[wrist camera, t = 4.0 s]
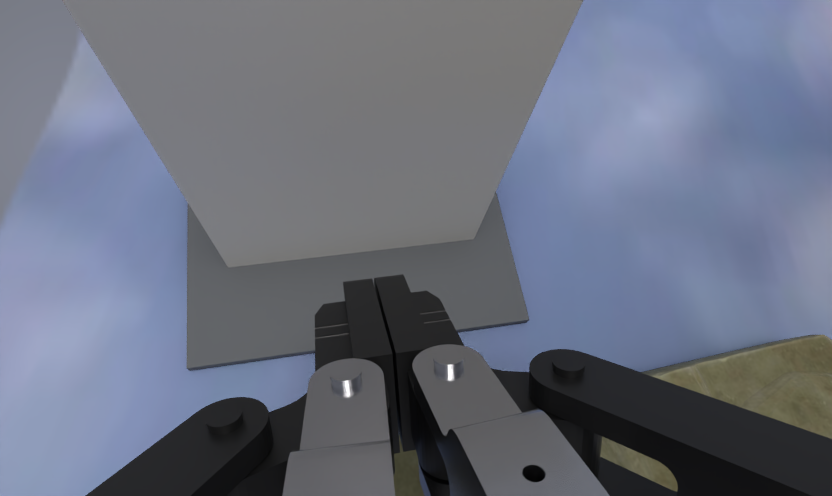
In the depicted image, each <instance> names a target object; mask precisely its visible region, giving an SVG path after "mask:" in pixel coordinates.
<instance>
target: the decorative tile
mask: <svg viewBox="0 0 832 496" xmlns="http://www.w3.org/2000/svg"><path fill="white" fill-rule="evenodd" d="M640 373H643V374H646V375H649V376H652V377H655V378H658V379H661V380H664V381H666V382H669V383H672V384H675V385H678V386H681V387H684V388H687V389H689V390H692V391H695V392H698V393H701V394H704V395H707V396H710V397H712V398H715V399H718V400H721V401H724V402H727V403H730V404H733V405H736V406H738V407H741V408H744V409H747V410H750V411H753V412H756V413H759V414H761V415H764V416H767V417H770V418H773V419H776V420H779V421H782V422H784V423H787V424H790V425H793V426H796V427H799V428H802V429H805V430H808V431H810V432H813V433H816V434H819V435H822V436H825V437H828V438H831V439H832V340H831V339H830V338H828V337H827V336H825V335H808V336H801V337H795V338H790V339H784V340H779V341H775V342H770V343H766V344H761V345H757V346H752V347H748V348H744V349H739V350H735V351H730V352H726V353H721V354H717V355H713V356H709V357H704V358H700V359H696V360H692V361H688V362H683V363H679V364H674V365H670V366H666V367H662V368H657V369H653V370H649V371H645V372H640ZM399 444H400V453H396V454H394V460H395V474H394V477H393V478H394V488H395V496H425V495H424V492H423V490H422V487H421V484H420V480H419V464H418V456H417V452H416V450H412V451H406V452H403V448H402V444H401V439H400V435H399ZM600 457H602V458H605V459H607V460H609V461H611V462H613V463H615V464H617V465H619V466H622V467H624V468H626V469H628V470H630V471H632V472H634V473H637V474H639V475H641V476H643V477H645V478H647V479H649V480H651V481H654V482H656V483H658V484H660V485H662V486H664V487H666V488H669V489H671V490H673V491H677V490H678V485H677V481H676V479H675V477H674V475H673V474H672V472H671V471H670V470H669V469H668V468H667V467H666V466H665V465H663V464H662V463H660V462H658V461H657V460H654V459H652V458H650V457H648V456H645V455H643V454H641V453H639V452H636V451H634V450H632V449H630V448H627V447H625V446H623V445H621V444H618V443H616V442H614V441H611V440H609V439H607V438H605V437H602V445H601V455H600Z"/></svg>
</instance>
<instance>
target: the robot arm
mask: <svg viewBox="0 0 832 496" xmlns="http://www.w3.org/2000/svg"><path fill="white" fill-rule="evenodd" d="M343 288H344V297H345V301H342V302H334V303H327V304H323V305H322V306H321V308H320V309H319V310H318V312H317V313H316V314H315V373H314V374H313V375H312V376H311V378H310V380H309V384H308V391H307V393H306V394H305V395H304V396H303V397H301V398H300V399H298V400H297V401H295V402H293V403H291V404H289V405H287V406H285V407H282V408H280V409H277V410H274V411H272V412H269V413H268V410H267V407H266V406H265V405H264V404H263V403H262V402H260V401H258V400H256V399H252V398H246V397H236V398H229V399H224V400H221V401H218V402H215V403H212V404H210V405H208V406H206V407H204V408H202V409H201V410H199V411H198V412H196V413H195V414H194V415H192V416H191V417H190V418H188V419H187V420H186V421H184V422H183V423H182V424H180V425H179V426H178V427H176V428H175V429H174V430H172V431H171V432H170V433H168V434H167V435H166V436H164V437H163V438H162V439H160V440H159V441H158V442H156V443H155V444H154V445H152V446H151V447H150V448H148V449H147V450H146V451H145V452H143V453H142V454H141V455H139V456H138V457H137V458H135V459H134V460H133V461H131V462H130V463H129V464H127V465H126V466H125V467H123V468H122V469H121V470H119V471H118V472H117V473H115V474H114V475H113V476H111V477H110V478H109V479H107V480H106V481H105V482H103V483H102V484H101V485H99V486H98V487H97V488H95V489H94V490H93V491H91V492H90V493H89V494H87V495H86V496H395V488H394V478H393V477H394V474H395V460H394V454H396V453H400V444H399V435H400V439H401V444H402V448H403V452H406V451H412V450H416V452H417V456H418V464H419V480H420V484H421V487H422V490H423V492H424V495H425V496H832V439H831V438H828V437H825V436H822V435H819V434H816V433H813V432H810V431H808V430H805V429H802V428H799V427H796V426H793V425H790V424H787V423H784V422H782V421H779V420H776V419H773V418H770V417H767V416H764V415H761V414H759V413H756V412H753V411H750V410H747V409H744V408H741V407H738V406H736V405H733V404H730V403H727V402H724V401H721V400H718V399H715V398H712V397H710V396H707V395H704V394H701V393H698V392H695V391H692V390H689V389H687V388H684V387H681V386H678V385H675V384H672V383H669V382H666V381H664V380H661V379H658V378H655V377H652V376H649V375H646V374H643V373H640V372H638V371H635V370H632V369H629V368H626V367H623V366H620V365H617V364H615V363H612V362H609V361H606V360H603V359H600V358H597V357H594V356H592V355H589V354H586V353H583V352H579V351H574V350H567V349H556V350H549V351H545V352H542V353H540V354H538V355H537V356H535V357H534V358H533V359H532V361H531V363H530V368H529V372H511V371H501V370H495V369H492V368H490V367H489V365H488V364H487V362H486V361H485V360H484V358H483V357H482V356H481V355H480V354H479V353H478V352H477V351H475V350H473V349H471V348H469V347H465V346H464V345H463V343H462V341H461V339H460V337H459V335H458V333H457V331H456V329H455V327H454V325H453V323H452V321H451V320H450V318H449V316H448V314H447V312H446V311H445V308H444V306H443V304H442V302H441V300H440V299H439V298H438V297H436V296H435V295H433V294H431V293H430V292H428V291H427V290H426V291H419V292H411V291H410V289H409V287H408V284H407V282H406V279H405V277H404V275H403V274H401V275H393V276H385V277H377V278H374V283H373V280H372V278H369V279H361V280H353V281H345V282H343ZM602 437H605V438H607V439H609V440H611V441H614V442H616V443H618V444H621V445H623V446H625V447H627V448H630V449H632V450H634V451H636V452H639V453H641V454H643V455H645V456H648V457H650V458H652V459H654V460H657V461H658V462H660V463H662V464H663V465H665V466H666V467H667V468H668V469H669V470H670V471H671V472H672V474H673V475H674V477H675V479H676V481H677V485H678V490H677V491H673V490H671V489H669V488H666V487H664V486H662V485H660V484H658V483H656V482H654V481H651V480H649V479H647V478H645V477H643V476H641V475H639V474H637V473H634V472H632V471H630V470H628V469H626V468H624V467H622V466H619V465H617V464H615V463H613V462H611V461H609V460H607V459H605V458H602V457H600V455H601V445H602Z"/></svg>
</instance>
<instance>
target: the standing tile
mask: <svg viewBox="0 0 832 496" xmlns="http://www.w3.org/2000/svg"><path fill="white" fill-rule="evenodd" d="M62 1H63V3H64V4H65V6H66V7H67V9H68V11H69V12H70V14H71V15H72V17H73V19H74V20H75V22H76V24H77V25H78V27H79V28H80V30H81V32H82V33H83V35H84V36H85V38H86V40H87V41H88V43H89V45H90V46H91V48H92V49H93V51H94V53H95V54H96V56H97V57H98V59H99V61H100V62H101V64H102V65H103V67H104V69H105V70H106V72H107V73H108V75H109V77H110V78H111V80H112V82H113V83H114V85H115V86H116V88H117V90H118V91H119V93H120V94H121V96H122V98H123V99H124V101H125V102H126V104H127V106H128V107H129V109H130V110H131V112H132V114H133V115H134V117H135V119H136V120H137V122H138V123H139V125H140V127H141V128H142V130H143V131H144V133H145V135H146V136H147V138H148V139H149V141H150V143H151V144H152V146H153V147H154V149H155V151H156V152H157V154H158V156H159V157H160V159H161V160H162V162H163V164H164V165H165V167H166V168H167V170H168V172H169V173H170V175H171V176H172V178H173V180H174V181H175V183H176V184H177V186H178V188H179V189H180V191H181V192H182V194H183V196H184V197H185V199H186V201H187V202H188V204H189V205H190V207H191V209H192V210H193V212H194V213H195V215H196V217H197V218H198V220H199V221H200V223H201V225H202V226H203V228H204V229H205V231H206V233H207V234H208V236H209V238H210V239H211V241H212V242H213V244H214V246H215V247H216V249H217V250H218V252H219V254H220V255H221V257H222V258H223V260H224V262H225V263H226V265H227V266H228V267H237V266H246V265H254V264H263V263H272V262H280V261H289V260H298V259H306V258H315V257H324V256H332V255H341V254H350V253H358V252H367V251H376V250H384V249H393V248H401V247H410V246H419V245H427V244H436V243H445V242H453V241H462V240H471V239H474V238H475V236H476V233H477V231H478V229H479V227H480V225H481V223H482V220H483V218H484V216H485V214H486V212H487V209H488V207H489V205H490V203H491V201H492V199H493V196H494V194H495V192H496V190H497V188H498V185H499V183H500V181H501V179H502V177H503V174H504V172H505V170H506V168H507V166H508V164H509V161H510V159H511V157H512V155H513V153H514V150H515V148H516V146H517V144H518V142H519V140H520V137H521V135H522V133H523V131H524V129H525V126H526V124H527V122H528V120H529V118H530V116H531V113H532V111H533V109H534V107H535V105H536V102H537V100H538V98H539V96H540V94H541V91H542V89H543V87H544V85H545V83H546V81H547V78H548V76H549V74H550V72H551V70H552V67H553V65H554V63H555V61H556V59H557V57H558V54H559V52H560V50H561V48H562V46H563V43H564V41H565V39H566V37H567V35H568V32H569V30H570V28H571V26H572V24H573V22H574V19H575V17H576V15H577V13H578V11H579V8H580V6H581V4H582V2H583V0H62Z"/></svg>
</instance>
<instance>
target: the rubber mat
mask: <svg viewBox="0 0 832 496" xmlns="http://www.w3.org/2000/svg"><path fill="white" fill-rule="evenodd" d="M401 274H403V275H404V277H405V279H406V282H407V284H408V287H409V289H410V291H411V292H419V291H426V290H427V291H428V292H430V293H431V294H433V295H435V296H436V297H438V298H439V299H440V300H441V302H442V304H443V306H444V308H445V311H446V312H447V314H448V316H449V318H450V320H451V321H452V323H453V325H454V327H455V329H456V331H457V332H463V331H470V330H477V329H484V328H491V327H498V326H505V325H512V324H519V323H526V322H527V321H528V320H529V317H528V313H527V309H526V305H525V301H524V297H523V294H522V290H521V286H520V282H519V278H518V275H517V271H516V267H515V263H514V259H513V255H512V252H511V248H510V244H509V240H508V236H507V233H506V229H505V225H504V221H503V217H502V213H501V210H500V206H499V202H498V198H497V194H496V192H495V194H494V196H493V199H492V201H491V203H490V205H489V207H488V209H487V212H486V214H485V216H484V218H483V220H482V223H481V225H480V227H479V229H478V231H477V233H476V236H475V238H474V239H471V240H462V241H453V242H445V243H436V244H427V245H419V246H410V247H401V248H393V249H384V250H376V251H367V252H358V253H350V254H341V255H332V256H324V257H315V258H306V259H298V260H289V261H280V262H272V263H263V264H254V265H246V266H237V267H228V266H227V265H226V263H225V262H224V260H223V258H222V257H221V255H220V254H219V252H218V250H217V249H216V247H215V246H214V244H213V242H212V241H211V239H210V238H209V236H208V234H207V233H206V231H205V229H204V228H203V226H202V225H201V223H200V221H199V220H198V218H197V217H196V215H195V213H194V212H193V210H192V209H191V207H190V205H189V204H188V242H187V369H188V370H197V369H204V368H211V367H218V366H225V365H232V364H239V363H246V362H253V361H260V360H267V359H274V358H281V357H288V356H295V355H302V354H309V353H315V314H316V313H317V312H318V310H319V309H320V308H321V306H322V305H323V304H327V303H334V302H342V301H345V297H344V288H343V282H345V281H353V280H361V279H369V278H372V280H373V283H374V278H377V277H385V276H393V275H401Z"/></svg>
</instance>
